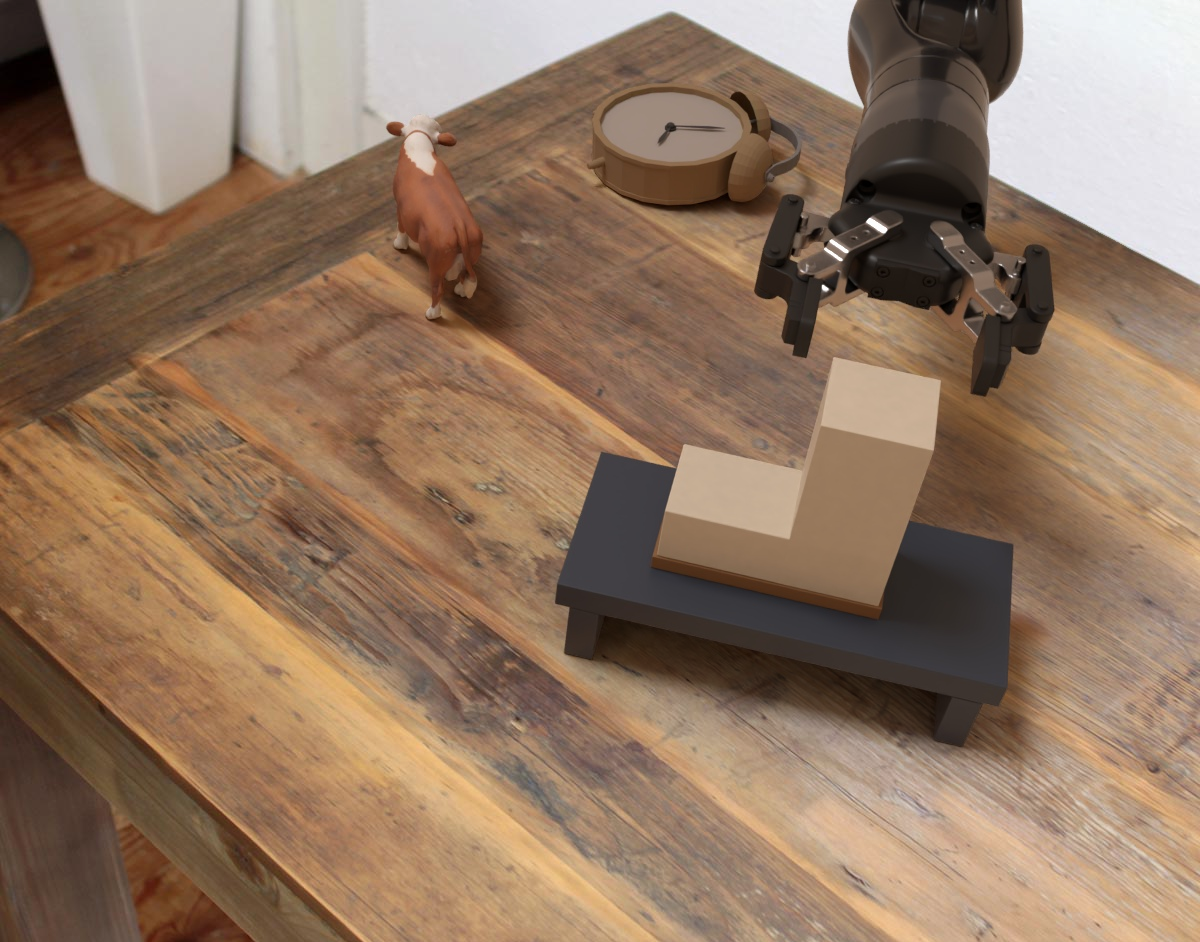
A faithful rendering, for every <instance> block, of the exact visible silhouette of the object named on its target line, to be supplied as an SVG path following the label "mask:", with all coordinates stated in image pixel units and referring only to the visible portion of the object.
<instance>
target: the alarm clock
mask: <svg viewBox="0 0 1200 942" xmlns="http://www.w3.org/2000/svg"><path fill="white" fill-rule="evenodd" d="M591 115H592V116H593V117H592V119H591V125H592V143H591V145H592V147H591V149H592V150H591V151H592V152H591V154H590V155H591V158H590V159H591V161H590V162H588V163H587V164H586V167H587V169H588V170H593V173H595V174H596V175H597V177H598V178H599V180H600V181H601V182H602V183H603V184H604V185H605V186H607V187H609V188H610V189H612V190H613V191H615V192H616V193H618V194H620V195H622V196H625V197H628V198H630V199H634V200H637V201H640V202H642V203H649V204H658V205H665V206H676V205H677V206H679V205H696V204H698V203H703V202H708V201H712V200H716V199H717V198H719V197H721V196H724V195H726V194H727V193H728V198H729V199H730V200H731V201H733V202H738V203H744V202H750V201H752V200H754V199H755V198H757V197H758V196H759V195H760V194H761V193H762V192H763V191H764V189H765V188H766V186H767V184H768V183H772V182H774V181H775V178H776V177H779V176H782V175H784V174H786V173H788V172H790V171H792V170H793V169H795V167H797V166H798V164H799V162H800V158H801V150H802V143H803V142H802V139H801V136H800V134H799V132H798V131H797V130H796V129H795V128H793V127H792V126H790V125H789V124H787V123H786V122H783V121H780V120H779V119H776V118H775V117H773V116H771V115H770V112H769V109H768V107H767V105H766V103H765V101H763V99H762V98H761V97H760V96H759V95H757V94H755V93H754V92H752V91H749V90H748V91H747V90H737V91H734V92H733V93H732V94H731V95H730V97H728V96H726V95H724V94H723V93H720V92H718V91H715V90H712V89H709V88H705V87H702V86H699V85H695V84H694V85H693V84H685V83H677V82H666V83H665V82H661V83H660V82H659V83H646V84H641V85H636V86H631V87H628V88H625V89H622V90H620V91H618V92H616V93H614V94H611V95H609V96H608V97H607V98H606V99H604V100H603V101H602V102H601V103H600V104H598V106H597V107H596V109H594V110H593V111H592V114H591ZM772 132H773V133H774V134H777V135H779V136H781V137H783V138H784V139H786V140H787V141H788V142H789V143H791V145H792V147H793V148H794V153H793V154H792V155H791V156H789V157H788V158H786V159H784V160H782V161H779V162H777V163H774V157H773V151H772V148H771V146H770V144H769V141H770V138H771V134H772Z"/></svg>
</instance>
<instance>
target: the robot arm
mask: <svg viewBox="0 0 1200 942" xmlns="http://www.w3.org/2000/svg"><path fill="white" fill-rule="evenodd" d="M1023 14H1024V13H1023V0H856V1H855V4H854V6H853V8H852V11H851V15H850V18H849V23H848V30H847V42H846V43H847V57H848V65H849V70H850V75H851V78H852V81H853V85H854V87H855V90H856V92H857V94H858V97H859V99H860V101H861V103H862V107H863V110H862V114H861V120H860V125H859V127H858V129H857V132H856V133H855V136H854V139H853V142H852V145H851V150H850V155H849V159H848V162H847V164H846V168H845V171H844V173H845V174H844V186H843V191H842V196H841V202H840V205H839V206H840V207H839V210H837V211H835V212H834V213H833V214H831V216H830V217H829V216H828V217H827V216H825V215H824V216H823V215H819V214H815V213H811V212H807V211H804V206H805V203H806V202H805V200H804V198H803V197H802V196H800V195H797V194H795V193H786V194H783V195H782V196H781V198H780V200H779V203H778V205H777V209H776V212H775V214H774V217H773V220H772V222H771V225H770V228H769V230H768V234H767V236H766V238H765V242H764V244H763V247H762V250H761V255H760V260H759V265H758V269H757V273H756V279H755V284H754V289H753V292H754V294H755V296H757V297H758V298H760V299H763V300H773V299H776V298H777V297H778V298H781V299H782V300H783V301H784V302H785V303H786V306H787V307H786V312H785V317H784V321H783V326H782V331H781V335H780V336H781V339H782V342H783V344H786V345H790V346H793V349H792V353H791V356H794V357H797V358H801V359H802V358H803V359H807V358H808V354H809V350H810V346H811V343H812V338H813V334H814V330H815V326H816V321H817V317H818V312H819V309H820V308H822V307H824V306H826V305H828V304H829V305H831V306H832V307H833V308H836V307H839V306H841V305H843V304H845V303H847V302H849V301H851V300H853V299H855V298H857V297H859V296H861V295H863V294H865V293H866V294H867V298H868V299H873V300H878V301H883V302H884V301H886V302H887V301H888V302H889V301H890V302H899V303H902V304H905V305H907V306H910V307H912V308H916V309H922V310H926V311H930V309H931V310H932V311H933V312H934V313H935V314H936V316H937V317H938V318H939V319H940V320H941V321H942V322H943V323H944V325H946V326H947V328H948V329H949V330H951V331H952V332H953V333H959V332H963V333H964V334H965V335H966V337H968V339H969V340H970V341H971V342H972V343H973V344H974V346H973V350H972V362H971V374H970V375H971V377H970V379H971V380H970V392H969V393H970V395H974V396H979V397H983V398H986V397H987V396H988V392H989V390H990V388H991V389H995V390H998V389H999V388H1000V387H1001V386H1002V384H1003V383H1004V380H1005V378H1006V375H1007V373H1008V370H1009V368H1010V364H1011V363H1012V357H1013V356H1012V355H1013V354H1012V351H1013V350H1012V349H1013V348H1015V349H1016V350H1017V351H1018V352H1020V353H1021V354H1023V355H1026V356H1033V355H1036V354H1038V353H1039V351H1040V348H1041V346H1042V343H1043V338H1044V336H1045V334H1046V331H1047V328H1048V326H1049V323H1050V321H1051V320H1052V318H1053V316H1054V313H1055V311H1056V309H1055V301H1054V300H1055V298H1054V288H1053V287H1054V286H1053V279H1052V269H1051V257H1050V251H1049V250H1048V249H1047V248H1046V247H1045V246H1043V245H1041V244H1035V243H1030V244H1027V245H1026V246H1025V249H1024V251H1023V253H1022V255H1016V254H1010V253H1004V252H1000V251H999V252H998V251H995V250H994V247H993V245H992V244H991V242H990V241H989V240H988V238H987V237H986V228H987V227H986V226H987V211H988V195H989V180H990V166H991V165H990V164H991V149H990V141H989V138H988V127H989V126H988V124H989V111H990V104H992V103H994V102H996V101H997V100H998V99H1000V98H1001V97H1002V96H1003V95H1004V94H1005V93H1006V92H1007V90H1008V89H1009V88H1010V87H1011V85H1012V84H1013V83H1014V81H1015V79H1016V78H1017V75H1018V72H1019V70H1020V67H1021V63H1022V58H1023V51H1024V15H1023ZM814 243H823V246H824V248H823V249H822V250H820V251H818V252H815V253H814V254H810V255H809V256H806V257H805V258H803V259H800V260H799V261H798V262H797V261H795V260H792V259H791V257H794V258H799V257H801V255H802V250H806V249H808V248H809V247H810V246H811V245H812V244H814ZM996 281H997V282H998V283H999V285H1000V288H1001V289H1002V290H1003V291H1004V292H1003V291H1002V290H1001V289H1000V288H999V287H998V286H997V285H996ZM984 311H985V312H986V314H985V316H984Z"/></svg>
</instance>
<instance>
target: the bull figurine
mask: <svg viewBox="0 0 1200 942" xmlns="http://www.w3.org/2000/svg"><path fill="white" fill-rule="evenodd" d="M385 129H386V131H387V133H389V135H392V136H395V137H404V138H405V139H404V140H403V143H402V145H401V146H400V150H399V154H398V155H399V156H398V160H397V162H398V163H397V166H396V170H395V174H394V176H393V180H392V181H393V182H392V194H393V197H394V200H395V202H396V217H397V224H396V228H397V231H398V233H397V236H396V238H395V239H393V242H392V247H393V248H394V249H395V250H400V249H403V250H407V249H408V247H409V239H410V240H411V241H412V242H414V243H415V244H416V245H417V246H419V249H420V251H421V253H422V255H423V256H424V258H425V261H426V263H427V266H428V269H429V281H430V286H431V289H430V296H431V304H430V306H429V307H428V308H427V310H426V311H425V312H424V316H425V318H427V320H436V319H438V318H440V317H441V315H442V307H441V299H442V297H443V295H444V294H445V279H446V281H450V282H451V281H453V280H457V279H458V277H459V282H457V284H456V285H455V287H454V289H453V292H454V293H455V294H456V295H458V296H460V297H461V298H465V297H466V298H468V299H471V298H472V297H473V296H474V293H475V291H476V290H477V286H478V278H477V275H476V272H475V271H474V269H473V266H475V265H476V264H477V263H478V260H479V259H480V256H481V254H482V252H483V251H482V250H483V243H484V234H483V231H482V229H481V227H480V226H479V224H478V223H477V221H476V220H475V218H474V214H473V212H472V210H471V207H470V205H469V204H468V203H467V200H466V199H465V196H464V195H463V193H462V191H461V189H460V187H459V186H458V184H457V182H456V180H455V178H454V176H453V174H452V172H451V170H450V168H449V167H448V165H446V163H445V162H444V161H443V160H442V159H441V158H440V157H438V155H437V154H438V153H439V151H440V146H443V147H454V146H456V145H457V142H458V140H457V138H456V136H455V135H454V134H452V133H451V132H442V126H441V125H440V123H439V122H438V121H436V120H435V119H434V118H433V117H431V116H429V115H427V114H417V115H415V116H413V117H412V118H410V121H409V123H408V124H407V125H406V124H404V123H403V122H401V121H390V122H388V123H387V124H386V126H385Z"/></svg>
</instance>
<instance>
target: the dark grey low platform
mask: <svg viewBox="0 0 1200 942" xmlns="http://www.w3.org/2000/svg"><path fill="white" fill-rule="evenodd" d="M676 470H677V467H674V466H673V467H672V466H669V465H668V466H667V465H665V464H659V463H655V462H650V461H646V460H642V459H637V458H632V457H628V456H623V455H619V454H616V453H615V454H614V453H610V452H605V451H601V452H600V454H599V457H598V460H597V463H596V466H595V469H594V471H593V475H592V478H591V480H590V484H589V487H588V490H587V492H586V495H585V498H584V502H583V505H582V508H581V511H580V513H579V517H578V520H577V523H576V525H575V529H574V532H573V535H572V539H571V541H570V544H569V547H568V549H567V552H566V556H565V559H564V561H563V565H562V568H561V570H560V574H559V576H558V579H557V582H556V590H555V596H554V597H555V598H554V604H555V605H559V606H563V607H566V608H569V609H568V616H567V623H566V631H565V640H564V648H563V654H566V655H570V656H573V657H578V658H583V659H586V660H593V659H594V655H595V652H596V649H597V645H598V642H599V638H600V635H601V632H602V628H603V625H604V621H605V618H606V617H609V618H613V619H618V620H623V621H627V622H631V623H636V624H640V625H644V626H649V627H653V628H657V629H661V630H666V631H669V632H674V633H678V634H683V635H687V636H691V637H696V638H700V639H704V640H709V641H712V642H717V643H721V644H726V645H730V646H734V647H738V648H742V649H747V650H752V651H755V652H760V653H764V654H768V655H772V656H778V657H781V658H786V659H790V660H794V661H799V662H803V663H806V664H811V665H816V666H820V667H824V668H829V669H833V670H838V671H842V672H846V673H850V674H855V675H858V676H863V677H867V678H872V679H876V680H880V681H883V682H889V683H893V684H896V685H902V686H906V687H910V688H915V689H918V690H924V691H928V692H932V693H936V704H935V714H934V725H933V727H934V728H933V736H932V737H933V739H932V740H933V741H935V742H940V743H945V744H948V745H953V746H957V747H961V748H962V747H964V745H965V743H966V741H967V738H968V736H969V734H970V732H971V730H972V728H973V726H974V723H975V721H976V720H977V717H978V714H979V713H980V711H981V708H982V707H983V704H984V705H988V706H992V707H995V708H998V707H1000V705H1001V702H1002V701H1003V698H1004V696H1005V694H1006V693H1007V690H1008V688H1009V687H1008V686H1009V664H1010V663H1009V662H1010V642H1011V641H1010V640H1011V638H1010V637H1011V620H1012V619H1011V618H1012V617H1011V616H1012V615H1011V614H1012V594H1013V592H1012V590H1013V572H1014V571H1013V568H1014V567H1013V566H1014V543H1011V542H1007V541H1002V540H997V539H994V538H990V537H989V538H988V537H984V536H980V535H975V534H971V533H967V532H962V531H958V530H953V529H948V528H945V527H940V526H936V525H930V524H927V523H921V522H918V521H913V520H909V522H908V525H907V527H906V530H905V533H904V536H903V539H902V541H901V544H900V547H899V550H898V553H897V555H896V558H895V561H894V564H893V567H892V569H891V572H890V575H889V578H888V581H887V583H886V586H885V589H884V597H883V605H882V611H881V613H880V616H879V619H878V620H877V619H873V618H868V617H864V616H860V615H855V614H851V613H847V612H842V611H838V610H834V609H830V608H825V607H821V606H817V605H812V604H808V603H804V602H799V601H795V600H791V599H786V598H782V597H778V596H773V595H769V594H765V593H760V592H756V591H752V590H747V589H743V588H739V587H734V586H730V585H726V584H721V583H717V582H713V581H709V580H704V579H700V578H696V577H691V576H687V575H683V574H678V573H674V572H670V571H665V570H661V569H657V568H652V567H651V561H652V556H653V552H654V549H655V545H656V541H657V538H658V534H659V531H660V527H661V524H662V520H663V517H664V513H665V509H666V506H667V502H668V499H669V495H670V491H671V488H672V484H673V481H674V477H675V474H676Z"/></svg>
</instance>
